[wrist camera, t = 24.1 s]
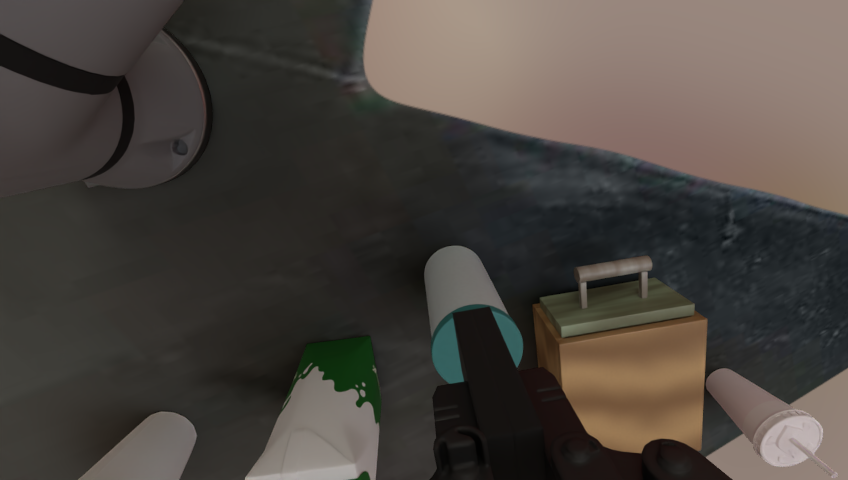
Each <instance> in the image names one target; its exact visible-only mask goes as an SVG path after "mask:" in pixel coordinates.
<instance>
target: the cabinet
mask: <svg viewBox="0 0 848 480" xmlns="http://www.w3.org/2000/svg"><path fill="white" fill-rule="evenodd" d="M532 307H533V317H534V328H535V338H536V348H537V359H538V368H539V367H544V368H545V369H546V370H548V371H549V372H550V373H552V374H553V375H554V376H555V377H556V379H557V381H558V383H559V384H560V386H561V389H562V390H563V391H564V393H565V395H566V398H568V400H569V402H570V404H571V405H572V407H573V409H574V411H575V412H576V414H577V416H578V418H579V419H580V421H581V423H582V425H583V426H584V428H585V430H586V432H587V433H588V434H589V435H591V436H593V437H594V438H596V439H598V441H599V442H600V443H601V444H602V445H603V446H604V447H607V448H609V449H612V450H617V451H622V452H632V453H642V451H643V448H644V445H646V444H647V443H649V442H650V441H651V440H656V439H661V438H662V439H673V440H676V441H679V442H682V443H685V444H687V445H688V446H690V447H692V448H693V449H695V450H696V451H699V450H701V441H702V420H703V399H704V379H705V358H706V337H707V319H706V318H705V317H703V316H702V315H700V314H699V313H698V312H696V311H695V310H694V315H692V316H686V317H681V318H675V319H672V320H669V321H663V322H658V323H652V324H646V325H640V326H634V327H628V328H623V329H617V330H611V331H605V332H599V333H594V334H588V335H582V336H576V337H570V338H562V337H561V336H560V335H559V333H558V332H557V330H556V329H555V327H554V326H553V325H552V323H551V322H550V320H549V319H548V317H547V316H546V315H545V313H544V312H543V310H542V309H541V307H540V303H538V304H533V305H532Z"/></svg>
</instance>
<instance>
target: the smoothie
mask: <svg viewBox="0 0 848 480" xmlns="http://www.w3.org/2000/svg"><path fill="white" fill-rule="evenodd" d="M706 389H707V390H708V391H709V393H710V394H711V395H712V396H713V397H714V399H715V400H716V401H717V402H718V403H719V404H720V406H721V407H722V408H723V409H724V410H725V412H726V413H727V414H728V415H729V416H730V418H731V419H732V420H733V421H734V422H735V424H736V425H737V426H738V427H739V428H740V430H741V431H742V432H743V433H744V434H745V436H746V437H747V438H748V439H749V440H750V442H751V443H752V444H753V448H754V450H755V452H756V453H757V455H759V456H760V457H761V458H762V459H764V461H766V462H767V463H768V464H770V465H773V466H777V467H787V466H792V465H796V464H798V463H800V462H803V461H805V460H806V459H807V458H810V459H811V460H812V461H813V462H815V463H816V464H817V465H818V466H819V467H820V468H821V469H823V470H824V471H825V472H826V473H827V474H828V475H830V476H831V477H832V478H836V477H837V476H838V474H837V473H836V472H835V471H833V470H832V469H831V468H830V467H829V466H828V465H826V464H825V463H824V462H823V461H821V460H820V459H819V458H818V457H817V456H816V455H814V453H815V451H816V450H817V449H818V447H819V446H820V444H821V441H822V439H823V429H822V426H821V424H820V423H819V422H818V421H817V420H815V419H814V418H813V417H812V416H811V415H810V414H808V413H807V412H805V411H802V410H796V409H795V408H793V407H791V406H790V405H788V404H787V403H785V402H783V401H781V400H780V399H778V398H776V397H775V396H773V395H772V394H770V393H768V392H767V391H765V390H763V389H762V388H760V387H758V386H757V385H755V384H753V383H752V382H750V381H748V380H747V379H745V378H744V377H742V376H740V375H739V374H737V373H735V372H734V371H732V370H730V369H727V368H722V369H718V370H716V371H714V372H712V373H711V374H710V375H709V376H708V378H707V380H706Z"/></svg>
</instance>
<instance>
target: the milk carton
mask: <svg viewBox="0 0 848 480" xmlns="http://www.w3.org/2000/svg"><path fill="white" fill-rule="evenodd" d="M380 414H381V393H380V386H379V380H378V375H377V370H376V365H375V359H374V354H373V349H372V343H371V338H370V336H366V337H358V338H350V339H342V340H334V341H326V342H318V343H310V344H307V345H306V348H305V351H304V353H303V356H302V359H301V361H300V364H299V367H298V369H297V372H296V375H295V377H294V380H293V382H292V385H291V388H290V390H289V392H288V395H287V397H286V400H285V402H284V405H283V407H282V409H281V412H280V414H279V417H278V419H277V422H276V424H275V426H274V429H273V431H272V434H271V436H270V438H269V441H268V443H267V446H266V448H265V450H264V452H263V454H262V455H261V457H260V458H259V459H258V461H257V462H256V464H255V465H254V466H253V468H252V469H251V470H250V472H249V473H248V475H247V476H246V477H245V480H376V466H377V454H378V440H379V427H380Z"/></svg>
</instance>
